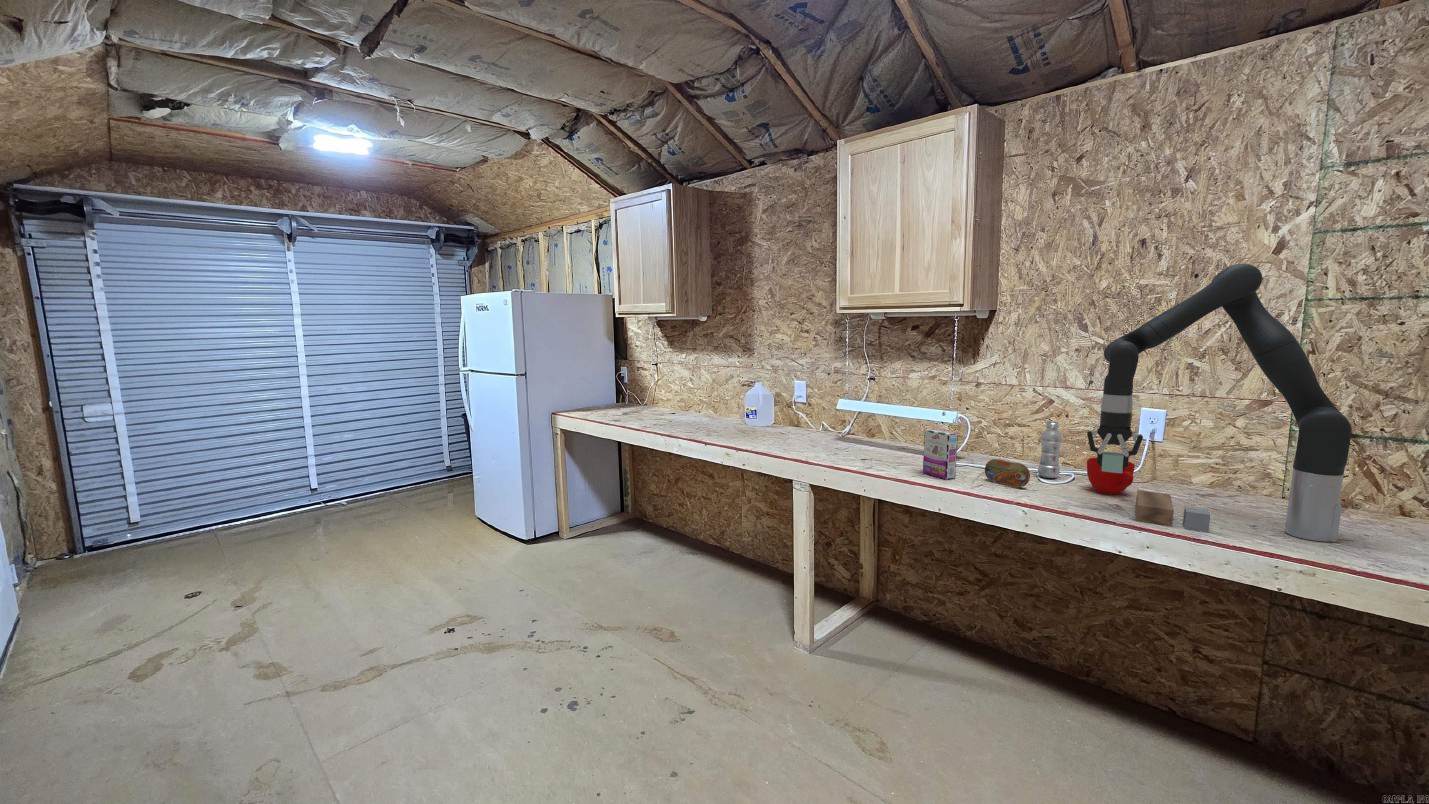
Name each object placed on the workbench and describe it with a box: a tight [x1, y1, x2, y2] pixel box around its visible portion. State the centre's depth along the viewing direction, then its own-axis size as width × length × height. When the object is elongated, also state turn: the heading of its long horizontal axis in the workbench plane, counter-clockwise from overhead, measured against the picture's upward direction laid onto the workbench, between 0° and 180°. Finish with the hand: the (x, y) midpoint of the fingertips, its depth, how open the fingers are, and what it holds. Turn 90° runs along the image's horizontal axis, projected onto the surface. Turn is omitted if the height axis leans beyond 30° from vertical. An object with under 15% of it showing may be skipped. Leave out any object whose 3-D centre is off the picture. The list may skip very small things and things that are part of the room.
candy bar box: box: [922, 428, 959, 481], centre depth 215 cm, size 11×5×16 cm, turn 27°
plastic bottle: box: [1037, 420, 1063, 479], centre depth 212 cm, size 6×7×20 cm
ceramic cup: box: [1086, 457, 1136, 496], centre depth 193 cm, size 13×17×10 cm
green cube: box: [1102, 450, 1124, 473], centre depth 176 cm, size 5×5×5 cm
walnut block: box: [1135, 489, 1174, 528], centre depth 172 cm, size 8×18×5 cm, turn 145°
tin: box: [984, 458, 1031, 489], centre depth 204 cm, size 15×3×8 cm, turn 33°
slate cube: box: [1182, 506, 1211, 533], centre depth 162 cm, size 5×5×5 cm
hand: (1111, 467), depth 176 cm, fingers closed on green cube, 5 cm apart
